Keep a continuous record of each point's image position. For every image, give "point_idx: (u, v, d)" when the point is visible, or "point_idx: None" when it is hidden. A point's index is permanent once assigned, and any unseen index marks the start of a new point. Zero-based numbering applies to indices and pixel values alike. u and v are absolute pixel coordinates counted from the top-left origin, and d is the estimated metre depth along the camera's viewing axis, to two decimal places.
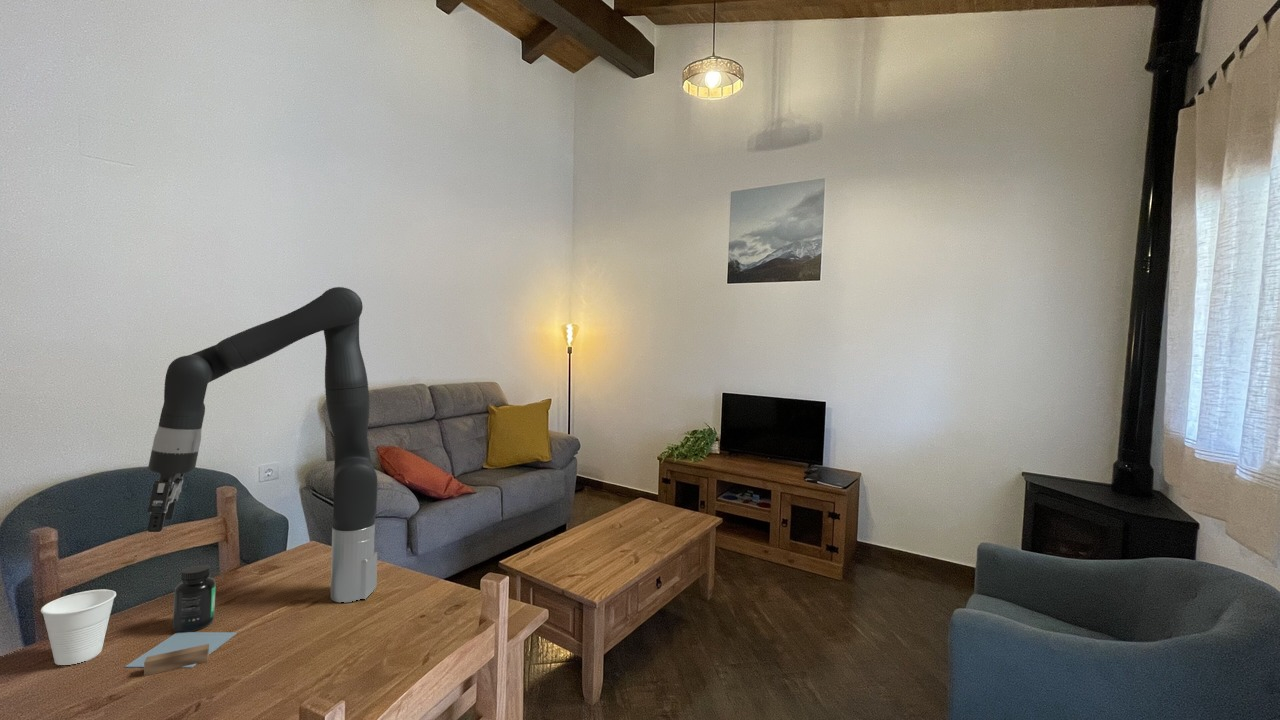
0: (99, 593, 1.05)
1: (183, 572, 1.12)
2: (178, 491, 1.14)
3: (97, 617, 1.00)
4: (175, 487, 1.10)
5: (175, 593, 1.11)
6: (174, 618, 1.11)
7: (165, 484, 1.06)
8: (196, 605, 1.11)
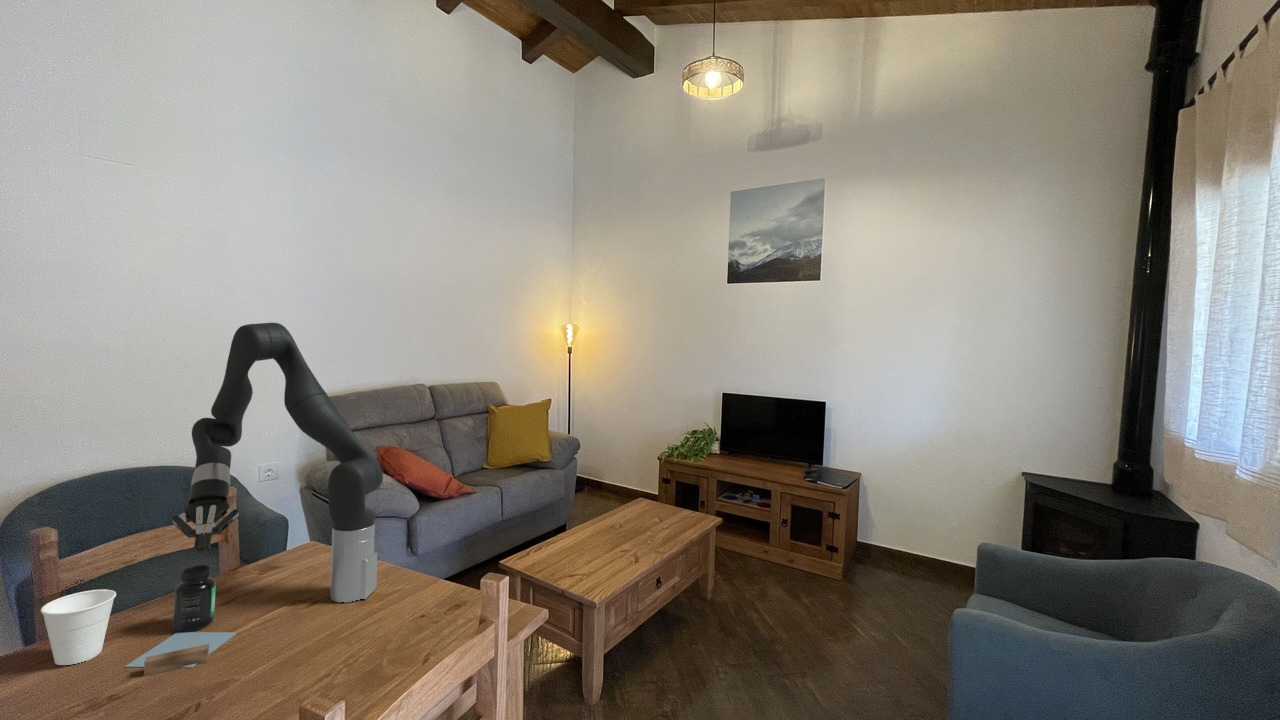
0: (99, 593, 1.05)
1: (183, 572, 1.12)
2: (207, 518, 1.25)
3: (97, 617, 1.00)
4: (196, 513, 1.25)
5: (175, 593, 1.11)
6: (174, 618, 1.11)
7: None
8: (196, 605, 1.11)
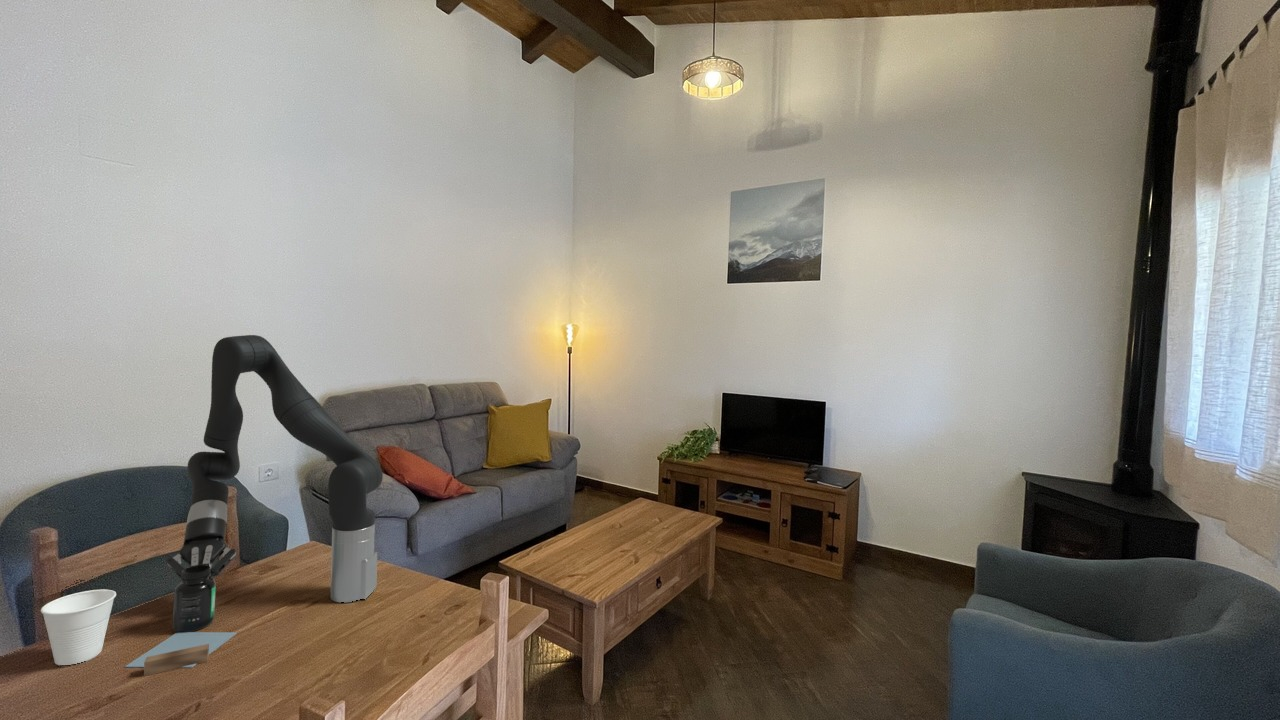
0: (99, 593, 1.05)
1: (183, 572, 1.12)
2: (203, 559, 1.20)
3: (97, 616, 1.00)
4: (191, 554, 1.20)
5: (175, 593, 1.11)
6: (174, 618, 1.11)
7: None
8: (196, 605, 1.11)
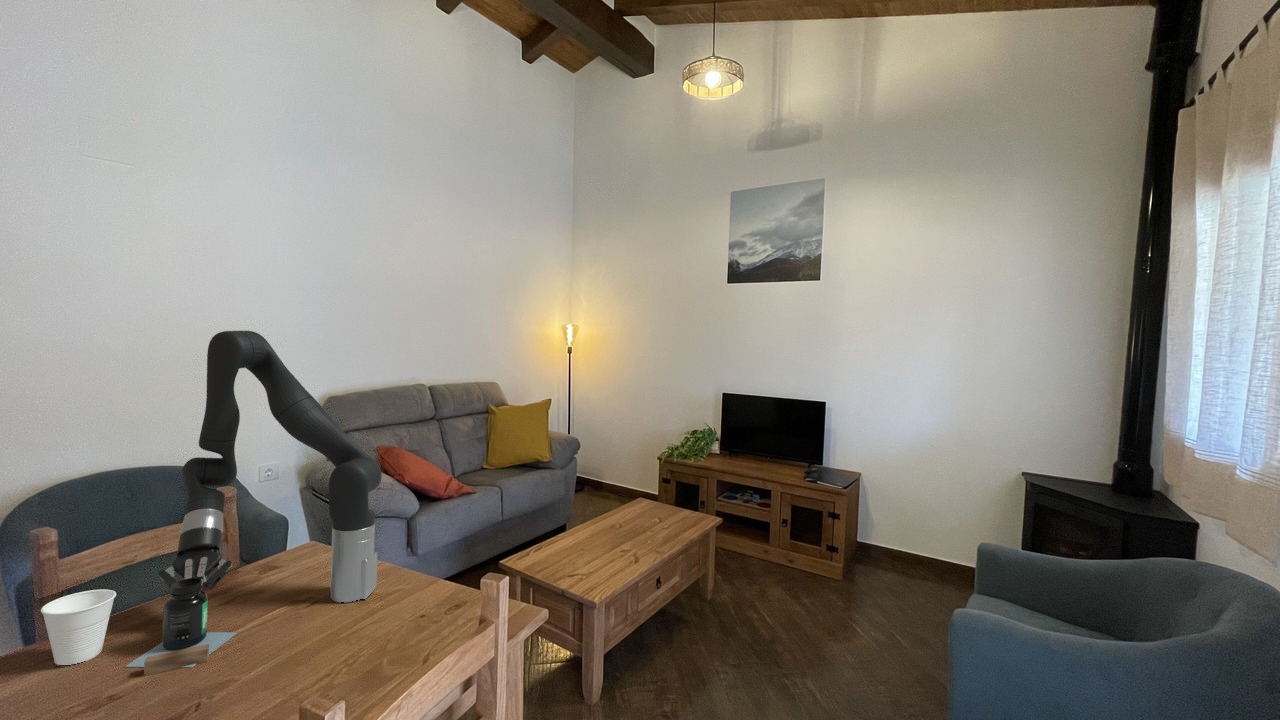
0: (99, 593, 1.05)
1: (172, 586, 1.05)
2: (197, 572, 1.14)
3: (97, 617, 1.00)
4: (185, 567, 1.14)
5: (164, 609, 1.04)
6: (163, 635, 1.04)
7: None
8: (185, 622, 1.04)
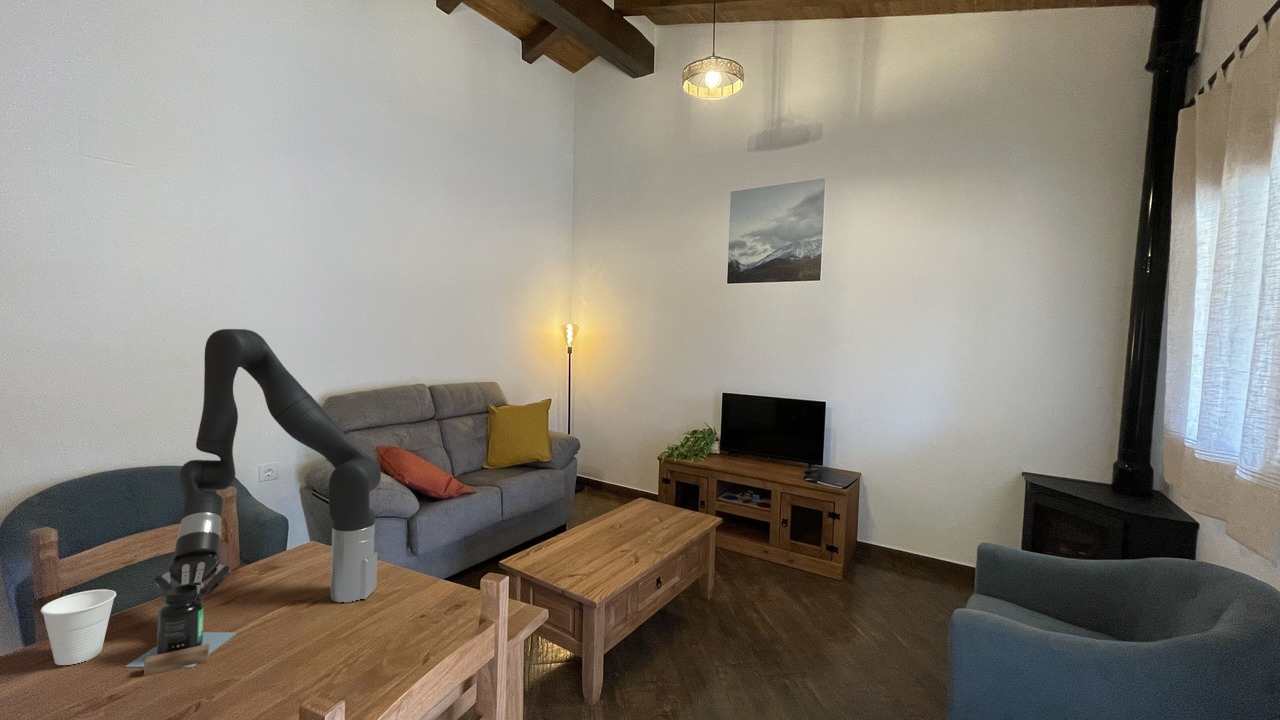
0: (99, 593, 1.05)
1: (167, 594, 1.02)
2: (195, 578, 1.11)
3: (97, 617, 1.00)
4: (182, 573, 1.11)
5: (158, 616, 1.01)
6: (158, 643, 1.01)
7: None
8: (180, 630, 1.02)
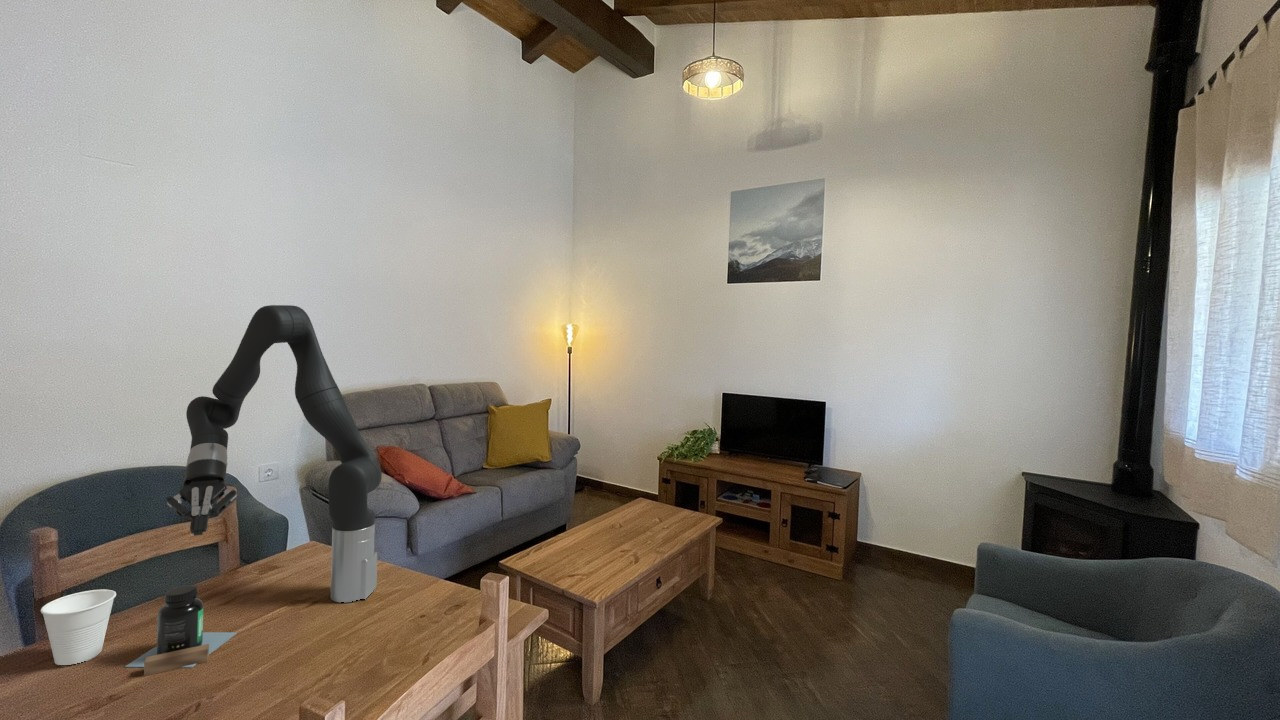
0: (99, 593, 1.05)
1: (167, 594, 1.02)
2: (204, 499, 1.19)
3: (97, 617, 1.00)
4: (191, 494, 1.19)
5: (158, 617, 1.01)
6: (157, 644, 1.01)
7: None
8: (180, 631, 1.01)
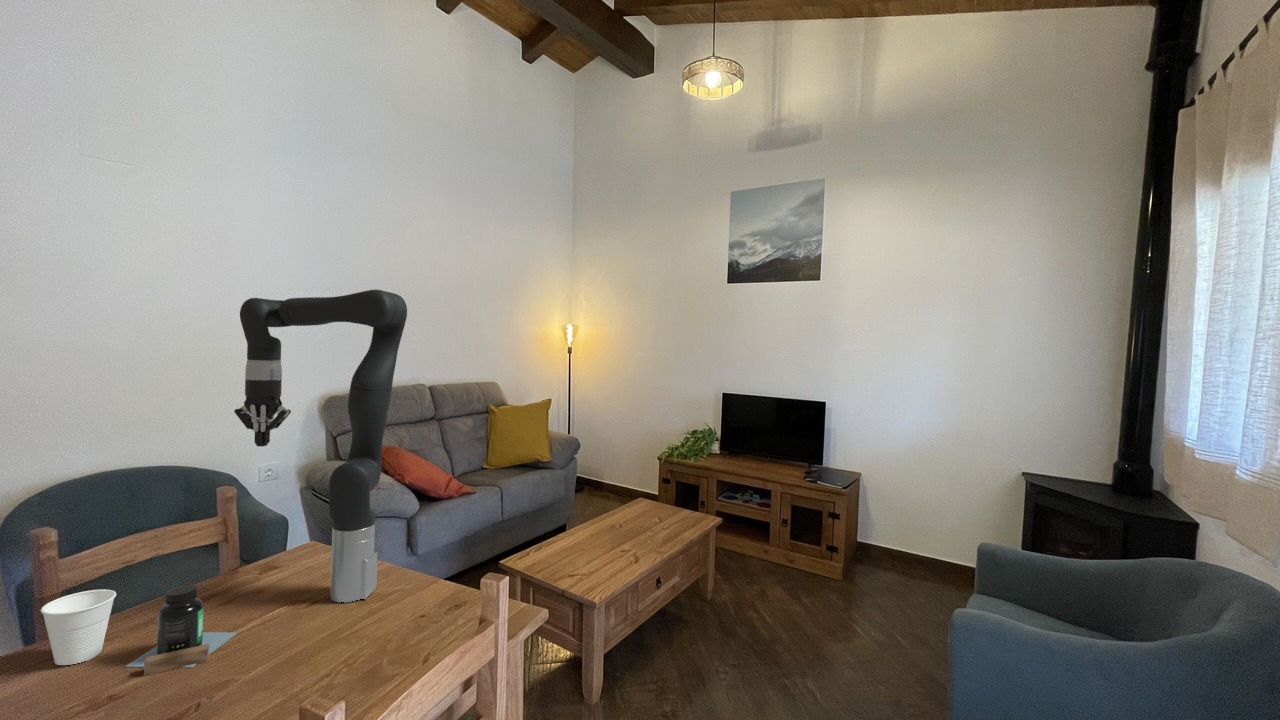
0: (99, 593, 1.05)
1: (167, 594, 1.02)
2: None
3: (97, 617, 1.00)
4: None
5: (158, 617, 1.01)
6: (157, 644, 1.01)
7: None
8: (180, 631, 1.01)
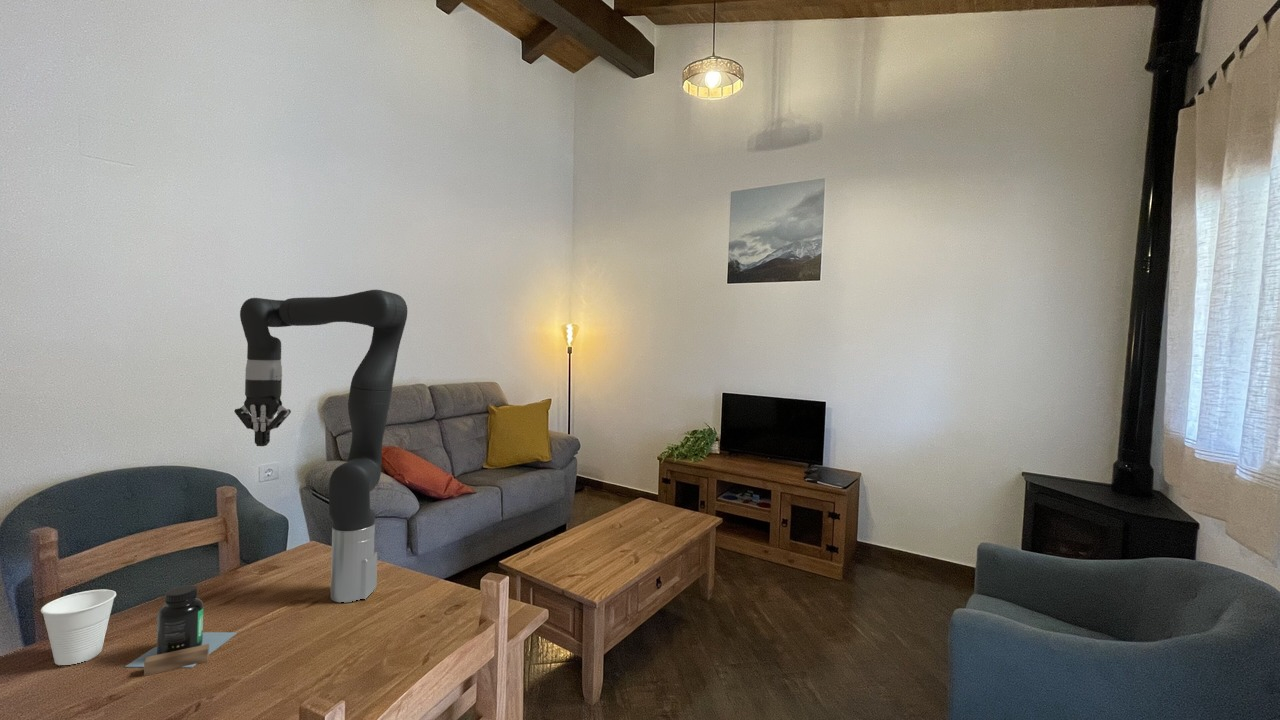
0: (99, 593, 1.05)
1: (167, 594, 1.02)
2: None
3: (97, 616, 1.00)
4: None
5: (158, 617, 1.01)
6: (157, 644, 1.01)
7: None
8: (180, 631, 1.01)
